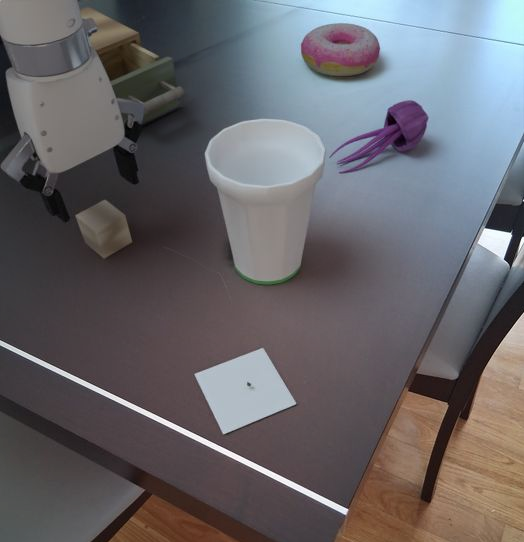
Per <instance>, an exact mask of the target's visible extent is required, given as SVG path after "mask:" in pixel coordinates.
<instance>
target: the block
mask: <svg viewBox="0 0 524 542" xmlns="http://www.w3.org/2000/svg"><path fill="white" fill-rule="evenodd" d="M74 216H75V219H76V221H77V224H78V227H79V230H80V232H81V236H82V238H83V241H84V244H86V245H87V246H88V247H89V248H90V249H92V250H93V251H94V252H95V253H96V254H98V255H99V256H100V257H101V258H102V259H104V260H105V259H106V258H108V257H110V256H111V255H113V254H115V253H117V252H118V251H120V250H122V249H123V248H125V247H127V246H130V244H132V243H133V239H132V236H131V232H130V228H129V225H128V221H127V217H126V215H125V214H124V213H123V212H122V211H121V210H119V209H118V208H117V207H116V206H115V205H113V204H112V203H110V202H109V201H108V200H106V199H103V200H101V201H99V202H98V203H96V204H93V205H92V206H90V207H88V208H87V209H85V210H83V211H80V212H79V213H77V214H75V215H74Z"/></svg>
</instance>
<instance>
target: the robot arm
mask: <svg viewBox="0 0 524 542" xmlns="http://www.w3.org/2000/svg"><path fill="white" fill-rule="evenodd" d="M80 10H81V9H80V5H79V2H78V0H0V38H1V41H2V44H3V46H4V50H5V51H6V53H7V54H6V55H7V57H8V60H9V62H10V64H11V67H9V68H8V69H6V71H5V80H6V85H7V91H8V96H9V99H10V103H11V107H12V108H11V109H12V111H13V116H14V119H15V122H16V125H17V129H18V131H19V135H20V139H19V141H18V142H17V144H16V145H15V146H14V147H13V148H12V150H11V151H10V152H9V153H8V155H6V157H5V158H4V159H3V161H2V162H1V164H0V169H1V170H2V171H3V173H5V174H6V175H8V176H9V177H10V178H11V179H12V180H15V181H16V182H17V183H18V184H20V185H21V186H23V188H25V189H28V190H31V191H34V192H36V193H39V195H40V197H41V199H42V202H43V204H44V207H45V209H46V211H47V213H48V214H49V215H51V217H57V218H58V219H59V220H61V221H62V222H63V223H65V224H66V223H68V222H70V220H71V217H70V215H69V212H68V209H67V206H66V204H65V202H64V198H63V196H62V194H61V192H60V191H59V190H58V189H57V188H56V185H57V184H58V183H57V182H58V180H59V177H60V174H61V173H65V172H66V171H69V170H70V169H73V168H74V167H76V166H79V165H80V164H82V163H84V162H87V161H88V160H90V159H93V158H95V157H96V156H98V155H100V154H103V153H105V152H106V151H109V150H110V149H112V148H113V149H112V151H113V155H114V159H115V161H116V162H115V163H116V166H117V170H118V174H119V175H120V177H122V178H123V179H124V180H126V182H128V183H129V184H131V185H134V186H136V185H138V184H139V183H140V180H139V177H138V172H139V168H138V163H137V159H136V154H135V152H137V150H138V144H137V143H138V140H139V137H140V136H141V133H142V131H143V125H142V123H143V122H142V121H143V116H144V111H145V106H144V105H143V104H142V103H140V102H138V101H136V100H129V99H121V98H116V96H115V94H114V91H113V88H112V85H111V83H110V80H109V78H108V76H107V73H106V71H105V69H104V67H103V65H102V62H101V60H100V58H99V56H98V54H97V52H96V51H95V50H94V49H93V48H91V43H90V40H89V37H90V36H91V35H92V34H93V33H95V32H97V26H96V23H95V21H94V20H93V19H92V18H87V19H84V18H82V16H81V12H80ZM121 113H127V114H128V120H127V121H126V123H125V125H124V124H123V120H122V116H121ZM141 122H142V123H141ZM30 159H31V160H32V161H36V162H35V165H34V168H33V171H32V174H31V173H29V172H25V171H24V169H23V168H24V166H25V164H27V162H28V161H29V160H30Z"/></svg>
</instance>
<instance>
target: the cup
mask: <svg viewBox="0 0 524 542" xmlns="http://www.w3.org/2000/svg"><path fill="white" fill-rule="evenodd" d="M326 153H327V149H326V147H325V144H324V143H323V140H322V139H321V137H320V135H318V134H317V133H315V131H312V130H311V129H309V128H308V127H307V126H306V125H303V124H299V123H296V122H293V121H290V120H287V119H278V118H277V119H275V118H258V119H257V118H256V119H251V120H241V121H240V122H238V123H235V124H233V125H230V126H228V127H225V128H223V129H222V130H221V131H219V132H218V133H217V134H216V135H214V136H213V137H212V138H211V139H210V140H209V142H208V144H207V146H206V149H205V151H204V158H205V164H206V165H205V166H206V169H207V174H208V178H209V181H210V182H211V184H213V186H214V187H215V188H216V190H217V194H218V199H219V202H220V207H221V212H222V216H223V220H224V223H225V224H224V225H225V228H226V232H227V237H228V241H229V245H230V249H231V254H232V259H233V266H234V269H235V272H237V273H238V274H239V276H241V277H242V278H243V279H244V280H246V281H248V282H250V283H253V284H256V285H267V286H268V285H276V284H281V283H284V282H286V281H289V280H290V279H291V278H293V277H294V276H295V275H296V274H297V273H298V272H299V270H300V269H301V266H302V259H303V254H304V249H305V245H306V244H305V243H306V238H307V233H308V229H309V223H310V222H309V221H310V217H311V211H312V206H313V202H314V196H315V191H316V190H315V189H316V186H317V184H318V182H319V181H320V180H321V179H322V178H323V175H324V169H325V164H326V163H325V162H326Z"/></svg>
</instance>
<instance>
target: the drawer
mask: <svg viewBox="0 0 524 542" xmlns="http://www.w3.org/2000/svg"><path fill="white" fill-rule="evenodd" d="M141 46H142V45H141ZM141 46H139V45H137V44H135V43H133V42H129V43H126V44H124V45H121V46H119V47H116V48H114V49H112V50H109V51H107V52H104V53H102V54H99V55H98V56H99V58H100V60H101V62H102V65H103V67H104V69H105V71H106V73H107V76H108V78H109V80H110V83H111V85H112V88H113V91H114V94H115V96H116V98H121V99H129V100H136V101H138V102H140V103H142V104H143V105H144V106H145V111H144V116H143V121H142V122H141V124H143V123H144V122H147V121H148V120H150V119H152V118H155V117H157V116H159V115H160V114H162V113H165V112H167V111H169V110H171V109H173V108H175V107H177V106H180V99H182V98H183V97H184V96H185V91H184V89H183V87H182V86H181V85H179V86H177V78H176V73H175V66H174V60H173V59H174V58H172V57H171V56H168V55H167V56H165V57H163V58H160V56H159V55H157V54H156V53H154V52H152V51H150V50H148V49H146V48H144V47H143V46H142V47H141ZM121 116H122V120H123V124H124V125H125V123H126V121H127V120H128V114H127V113H121Z"/></svg>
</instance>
